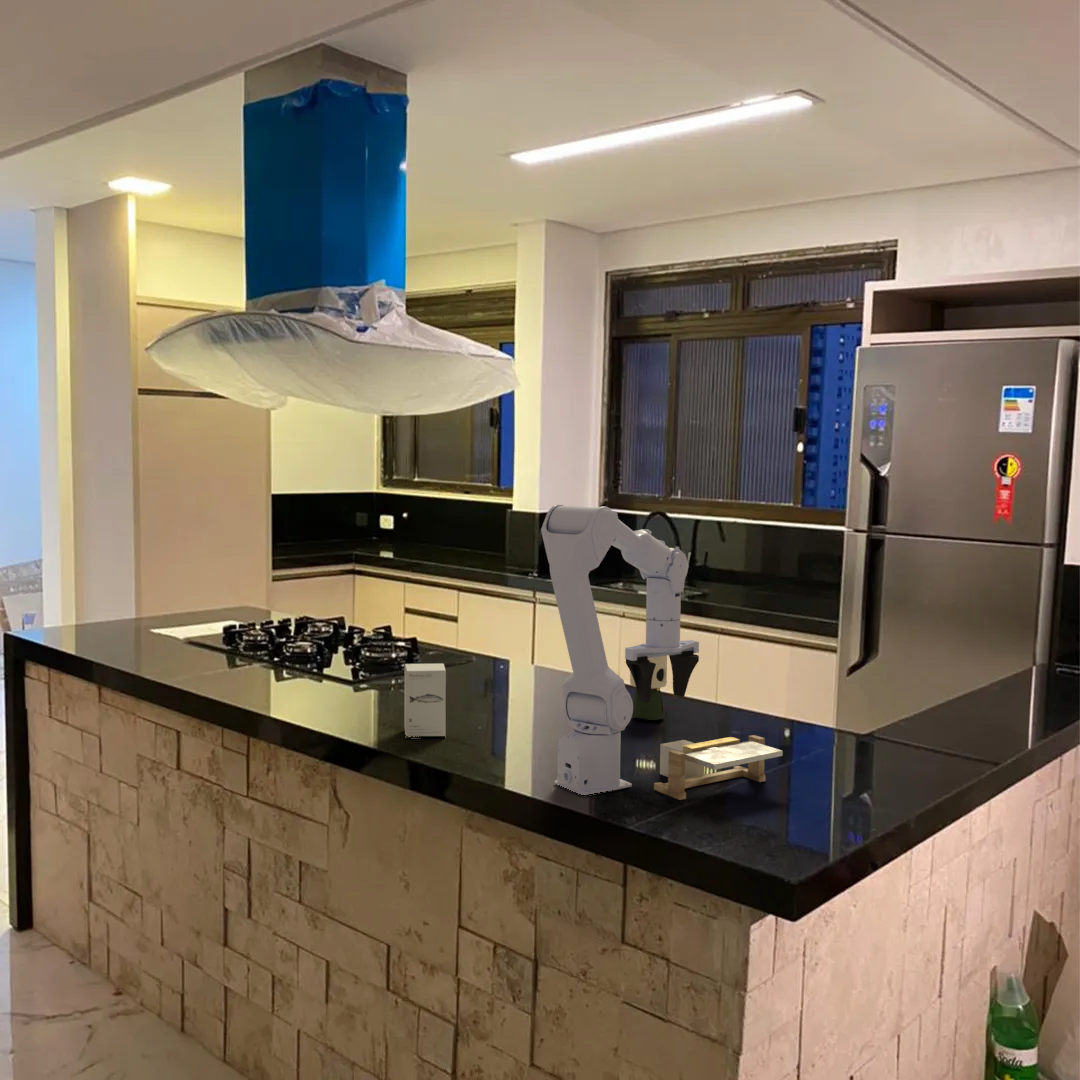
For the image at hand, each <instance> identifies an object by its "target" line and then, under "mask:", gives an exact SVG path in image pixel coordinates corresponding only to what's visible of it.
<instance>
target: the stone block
mask: <svg viewBox="0 0 1080 1080" xmlns="http://www.w3.org/2000/svg"><path fill="white" fill-rule="evenodd" d="M689 744H695V742H693V741H689V740H686V739H681V740H676V741H670V742H666V743H660V751H659V752H660V753H659V757H660V758H659V775H661V776H664V777H667V778H668V760H669V751H672V750H676V751H679V752H682V753H683V746H684V745H689ZM702 775H705V766H702V765H699V764H696V763H693V762H691V761H688V760H685V779H688V778H693V777H697V776H702Z"/></svg>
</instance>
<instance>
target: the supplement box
mask: <svg viewBox="0 0 1080 1080" xmlns="http://www.w3.org/2000/svg"><path fill="white" fill-rule="evenodd" d="M446 685H447V670H446V666H445V664H444V663H404V710H403V711H404V712H403V713H404V714H403V715H404V717H403V718H404V720H403V721H404V725H403V726H404V727H403V728H404V735H406V736H408V737H411V736H413V737H415V736H416V737H417V736H418V737H419V736H445V737H446V735H447V734H446V733H447V732H446V730H447V726H446V725H447V723H446V721H447V720H446V719H447V718H446V707H447V706H446V704H447V703H446V701H447V700H446V697H447V694H446V693H447V691H446V689H447V688H446V687H447V686H446ZM406 736H405V737H406Z"/></svg>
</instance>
